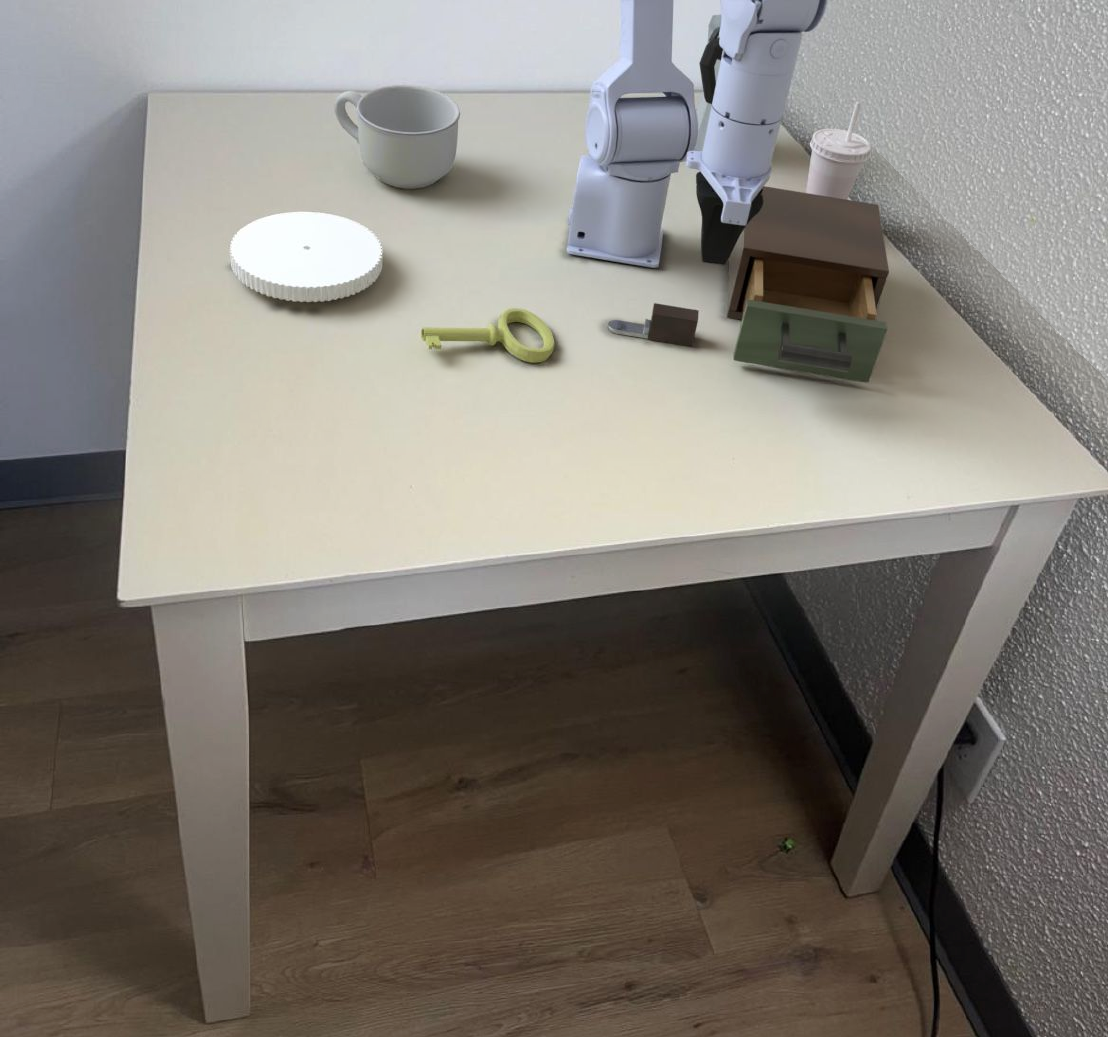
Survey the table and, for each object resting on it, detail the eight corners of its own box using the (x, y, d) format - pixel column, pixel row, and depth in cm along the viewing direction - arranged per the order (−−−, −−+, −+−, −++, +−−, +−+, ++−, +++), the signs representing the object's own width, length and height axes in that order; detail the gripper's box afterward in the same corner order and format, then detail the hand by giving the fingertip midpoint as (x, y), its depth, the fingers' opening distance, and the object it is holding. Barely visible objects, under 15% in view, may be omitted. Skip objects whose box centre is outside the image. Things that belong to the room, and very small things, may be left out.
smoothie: (846, 242, 127) (884, 118, 118) (788, 231, 128) (821, 107, 119) (847, 216, 132) (884, 95, 123) (791, 205, 133) (823, 84, 123)
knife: (693, 335, 110) (698, 310, 108) (692, 347, 109) (697, 321, 107) (608, 321, 110) (612, 295, 109) (606, 332, 109) (610, 307, 107)
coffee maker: (715, 120, 148) (746, -29, 136) (775, 144, 145) (813, -7, 133) (652, 155, 138) (679, -2, 126) (716, 182, 135) (750, 23, 123)
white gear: (221, 240, 114) (219, 216, 112) (363, 229, 118) (363, 206, 117) (244, 318, 104) (242, 294, 103) (397, 303, 109) (398, 280, 107)
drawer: (872, 415, 102) (892, 360, 98) (732, 392, 102) (746, 336, 99) (859, 311, 115) (877, 259, 111) (735, 290, 116) (748, 237, 112)
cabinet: (865, 340, 113) (889, 271, 108) (726, 317, 113) (743, 247, 108) (857, 270, 123) (878, 204, 118) (729, 249, 123) (745, 182, 118)
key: (413, 347, 104) (414, 326, 102) (526, 314, 110) (528, 295, 108) (456, 390, 100) (457, 369, 98) (571, 354, 106) (574, 334, 104)
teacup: (475, 176, 130) (480, 106, 124) (415, 210, 122) (417, 137, 117) (376, 136, 134) (377, 67, 129) (313, 167, 127) (310, 95, 122)
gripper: (696, 68, 99) (668, 214, 108) (698, 141, 88) (667, 296, 97) (779, 80, 99) (744, 225, 108) (791, 154, 88) (751, 308, 97)
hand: (713, 260), depth 103 cm, fingers closed
